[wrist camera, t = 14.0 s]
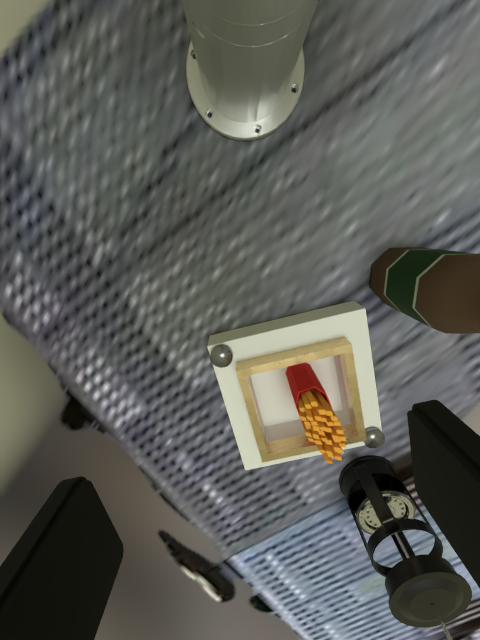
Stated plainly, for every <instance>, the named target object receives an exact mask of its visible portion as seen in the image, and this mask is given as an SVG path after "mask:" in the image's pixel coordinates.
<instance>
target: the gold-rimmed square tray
mask: <svg viewBox="0 0 480 640" xmlns="http://www.w3.org/2000/svg"><path fill="white" fill-rule="evenodd" d="M207 347H208V350H209V353H210V360H211V362H212V363H213V366H214V370H215V373H216V376H217V379H218V383H219V386H220V389H221V392H222V396H223V399H224V402H225V405H226V409H227V412H228V415H229V418H230V422H231V425H232V428H233V431H234V435H235V438H236V441H237V444H238V448H239V451H240V454H241V457H242V461H243V464H244V467H245V470H249V469H254V468H259V467H264V466H268V465H273V464H278V463H283V462H287V461H292V460H297V459H302V458H306V457H311V456H316V455H321V454H322V453H320V452H319V450H318V448H317V446H316V444H315V443H313V442H310V441H309V440H308V438H307V436H306V433H305V429H304V427H303V424H302V422H301V419H300V417H299V414H298V411H297V409H296V406H295V402H294V399H293V396H292V393H291V389H290V386H289V383H288V380H287V376H286V370H287V368H288V366H292V365H297V364H301V363H305V362H306V363H308V364H310V366H311V367H312V369H313V371H314V373H315V374H316V376H317V378H318V380H319V381H320V383H321V385H322V387H323V389H324V390H325V392H326V394H327V396H328V399H329V401H330V404H331V406H332V409H333V411H334V413H335V414H336V416H337V418H338V420H339V421H340V424H341V428H342V429H343V433H344V436H345V437H346V441H343V442H344V443H345V445H346V447H341V448H342V449H343V450H345V449H349V448H354V447H359V446H364V445H366V446H367V447H369V448H377V447H380V446H381V445H382V444H383V443H384V441H385V436H384V434H383V433H382V428H381V421H380V413H379V406H378V398H377V391H376V384H375V376H374V369H373V361H372V354H371V347H370V339H369V332H368V324H367V317H366V310H365V308H364V307H363V306H361V305H359V304H358V303H356V302H355V301H350V302H345V303H341V304H337V305H333V306H329V307H325V308H321V309H317V310H313V311H308V312H304V313H300V314H296V315H292V316H288V317H284V318H280V319H276V320H271V321H267V322H263V323H259V324H255V325H251V326H247V327H243V328H238V329H234V330H230V331H226V332H222V333H218V334H214V335H210V338H209V342H208V345H207Z"/></svg>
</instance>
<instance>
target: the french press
mask: <svg viewBox="0 0 480 640" xmlns="http://www.w3.org/2000/svg"><path fill="white" fill-rule="evenodd" d="M373 474H388V475H389V477H390V479H389V483H388V485H387V487H386V488H385V489H383V490H379V488H378V486H377V484H376V482H375V480H374V479H373V477H372V475H373ZM359 480H360V482H361V484H362V486H363V488H364V490H365V492H366V494H367V496H366V497H362V496H358V495H355V494H354V493H352V492H351V491H350V490H351V489H352V487H353V486H354V485H355V484H356V483H357V482H358V481H359ZM339 485H340V489H341V491H342V493H343V494H344V495H345V497H346V500H347V502H348V505H349V507H350V510H351V512H352V515H353V517H354V520H355V522H356V525H357V527H358V530H359V532H360V535H361V537H362V540H363V542H364V545H365V547H366V550H367V552H368V555H369V557H370V560H371V562H372V565H373V567H374V569H375V570H376V571H377V572H378V573H379V574H381V575H382V576H385V577H386V579H385V587H386V590H387V592H388V595H389V608H390V610H391V612H392V615H393V616H394V617H395V618H396V619H397V620H398V621H400V622H401V623H404V624H406V625H409V626H413V627H433V626H438V625H441V626H442V628H443V630H444V632H445V634H446V636H447V638H448V639H449V640H453V639H452V637H451V635H450V633H449V632H448V630H447V628H446V626H445V623H447V622H449V621H451V620H453V619H455V618H457V617H458V616H459V615H460V614H462V613H463V612H464V611H465V610H466V608H467V607H468V605H469V604H470V602H471V598H472V591H471V588H470V586H469V584H468V583H467V581H466V580H465V579H464V578H463V577H462V576H461V575H459V574H457V573H456V571H455V570H454V568H453V567H452V565H451V564H450V563H449V562H448V561H447V560H446V559H444V558H442V553H443V546H442V543H441V541H440V539H439V538H438V536H437V535H436V533H435V532H434V530H433V528H432V527H431V525H430V524H429V522H428V521H427V519H426V518H425V516H424V515H423V513H422V511H421V510H420V508H419V507H418V505H417V504H416V502H415V501H414V499H413V498H412V496H411V494H410V493H409V491H408V490H407V488H406V487H405V485H404V484H403V482H402V481H401V479H400V477H399V476H398V474H397V471H396V469H395V467H394V466H393V464H392V463H391V462H389V461H388V460H386V459H385V458H382V457H379V456H364V457H360V458H357V459H355V460H353V461H352V462H350V463H349V464H348V465H347V466H346V467H345V468H344V469H343V471H342V472H341V475H340V478H339ZM406 492H407V494H408V495H409V497H410V498H409V497H408V496H407V495H406ZM415 506H416V508H417V510H418V511H419V513H420V514H421V516H422V517H423V519H424V521H425V522H426V523H425V522H423V521H420V520H417V519H414V516H415V512H416V511H415ZM355 513H356V515H355ZM356 516H357V518H356ZM361 529H362V530H363V531H365V532H366V533H368V534H371V537H370V538H369V541H368V544H367V542H366V540H365V537H364V535H363V533H362V530H361ZM412 529H416V530H423V531H426V532H429V533H430V534H432V535H434V536H435V543H434V547H433V549H432V551H431V552H430V553H429V555H417V556H415V554H414V552H413V550H412V548H411V546H410V545H409V543H408V541H407V539H406V537H405V535H404V534H403V532H402V531H403V530H412ZM389 535H391V536H392V538H393V540H394V542H395V544H396V546H397V548H398V550H399V552H400V554H401V557H402V559H403V560H402V561H400V562H399V563H397V564H396V565H395V566H394V567H393V568H389V567H385V566H382V565H380V564H378V563H377V562H375V561H374V559H373V553H374V551H375V548H376V547H377V545H378V544H379V543H380V542H381V541H382V540H383V539H385V538H386V537H388V536H389Z"/></svg>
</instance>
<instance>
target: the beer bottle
mask: <svg viewBox="0 0 480 640" xmlns="http://www.w3.org/2000/svg"><path fill="white" fill-rule="evenodd" d="M370 288H371V289H372V290H373V291H374V292H375V293H376V294H377V295H378V296H379V297H380V299H381V300H382V301H383V302H384V303H386V304H387V305H389V306H391V307H393V308H394V309H396V310H398V311H400V312H402V313H404V314H406V315H408V316H410V317H412V318H414V319H416V320H418V321H420V322H422V323H424V324H425V325H427V326H429V327H431V328H433V329H436V330H439V331H441V332H444V333H459V334H462V333H480V254H474V253H465V252H456V251H446V250H437V249H428V248H390V249H389V250H388V251H387V252H386V253H385V254H384V255H383V256H381V257H380V258H379V259H378V260H377V261H376V262H375V263H374V264H373V265H372V273H371V283H370Z"/></svg>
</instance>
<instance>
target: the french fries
mask: <svg viewBox="0 0 480 640" xmlns="http://www.w3.org/2000/svg"><path fill="white" fill-rule="evenodd" d="M286 376H287V380H288V383H289V386H290V389H291V393H292V396H293V399H294V402H295V406H296V409H297V411H298V414H299V417H300V419H301V422H302V424H303V427H304V429H305V433H306V436H307V438H308V440H309V441H310V442H313V443H315V444H316V446H317V448H318V450H319V452H320V453H322V454H323V457H324V460H325V461H326V462H327V463H333V462H332V459H331V458H335V459H337V460H341V461H342V458H341V456H340V453H344V452H343V449H342V448H341V447H346V445H345V443H344V442H343V441H346V437H345V436H344V433H343V429H342V428H341V424H340V421H339V420H338V418H337V416H336V414H335V413H334V411H333V409H332V406H331V404H330V401H329V399H328V396H327V394H326V392H325V390H324V389H323V387H322V385H321V383H320V381H319V380H318V378H317V376H316V374H315V373H314V371H313V369H312V367H311V366H310V364H308V363H306V362H305V363H301V364H297V365H292V366H288V368H287V370H286Z"/></svg>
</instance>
